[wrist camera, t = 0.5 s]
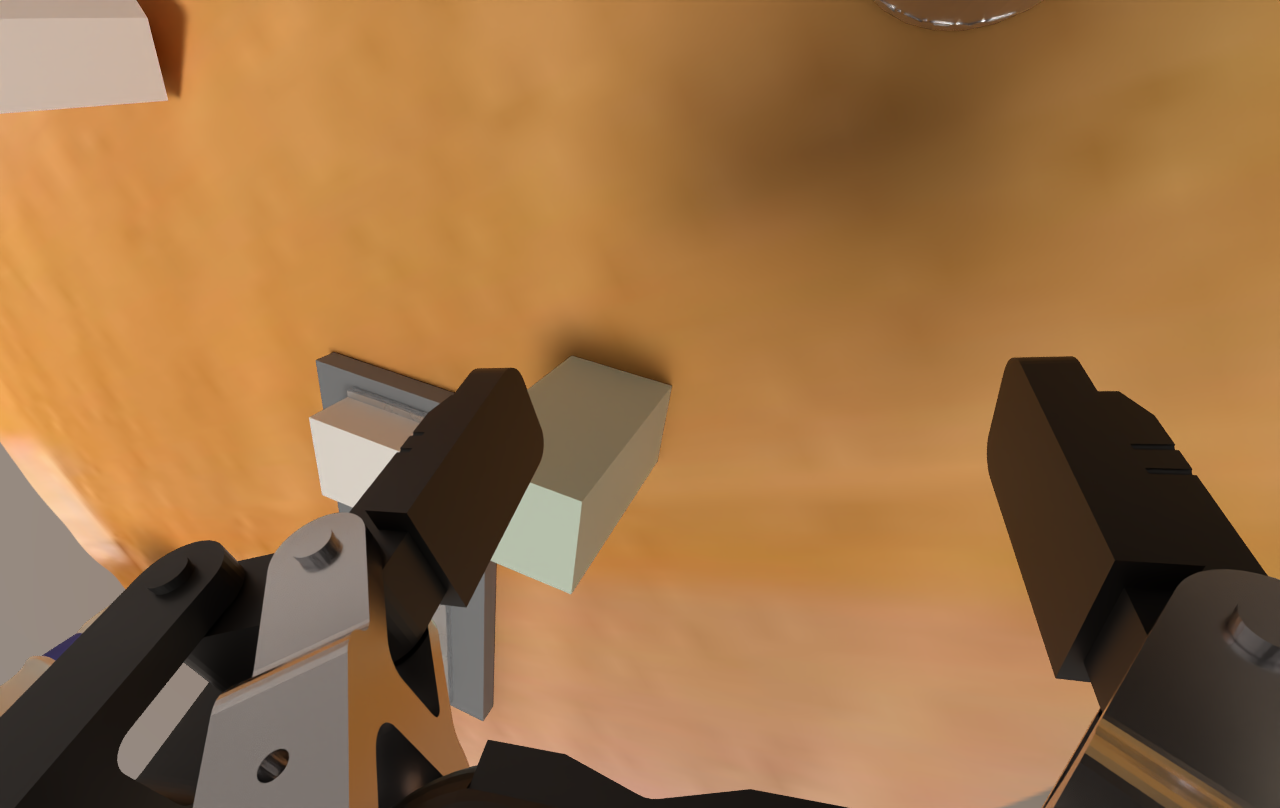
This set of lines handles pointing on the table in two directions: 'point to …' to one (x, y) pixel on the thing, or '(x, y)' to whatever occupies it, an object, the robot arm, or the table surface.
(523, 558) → the tall block
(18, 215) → the table surface
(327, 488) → the rectangular blocks
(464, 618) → the grey board
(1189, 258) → the table surface
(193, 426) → the table surface
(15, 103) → the white angular blocks
